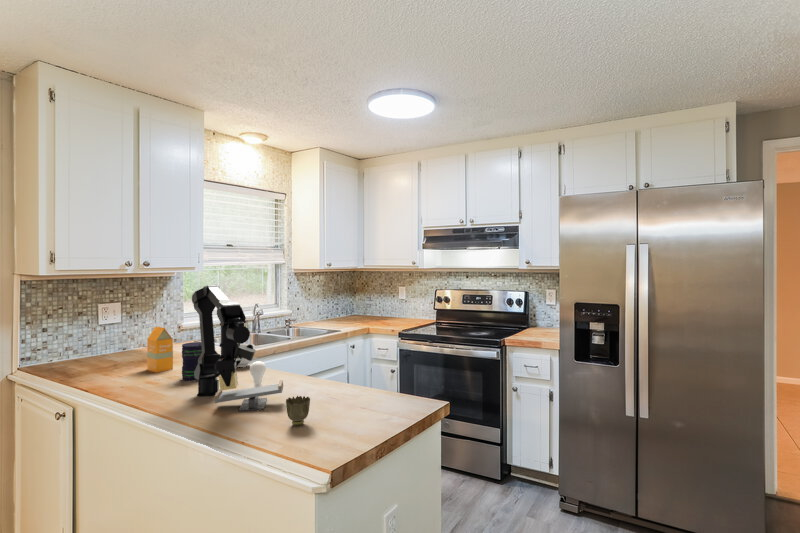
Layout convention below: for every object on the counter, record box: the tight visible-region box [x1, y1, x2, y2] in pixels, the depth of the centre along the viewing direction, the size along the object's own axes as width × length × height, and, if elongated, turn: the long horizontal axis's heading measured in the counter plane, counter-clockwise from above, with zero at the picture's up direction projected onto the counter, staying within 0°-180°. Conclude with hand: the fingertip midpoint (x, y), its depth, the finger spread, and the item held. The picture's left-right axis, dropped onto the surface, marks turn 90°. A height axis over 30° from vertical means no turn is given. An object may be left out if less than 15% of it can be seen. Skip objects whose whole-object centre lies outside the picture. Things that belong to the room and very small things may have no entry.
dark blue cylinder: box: [181, 341, 202, 382], centre depth 192 cm, size 10×10×15 cm
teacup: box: [236, 343, 255, 368], centre depth 214 cm, size 12×15×10 cm
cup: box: [285, 395, 311, 427], centre depth 137 cm, size 8×7×8 cm
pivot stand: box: [238, 396, 268, 413], centre depth 155 cm, size 8×12×4 cm, turn 11°
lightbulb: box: [249, 360, 267, 388], centre depth 176 cm, size 6×6×11 cm
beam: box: [213, 379, 284, 404], centre depth 155 cm, size 22×8×2 cm, turn 101°
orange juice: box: [146, 326, 174, 373], centre depth 207 cm, size 8×9×20 cm
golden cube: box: [218, 370, 239, 391], centre depth 154 cm, size 5×5×5 cm
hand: (229, 384), depth 154 cm, fingers closed on golden cube, 5 cm apart
